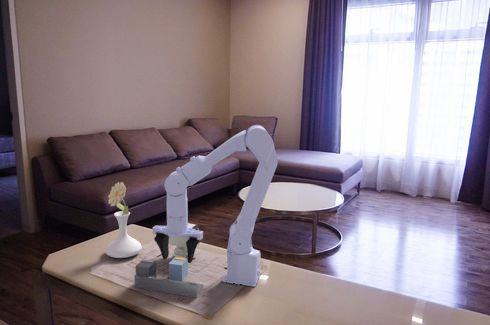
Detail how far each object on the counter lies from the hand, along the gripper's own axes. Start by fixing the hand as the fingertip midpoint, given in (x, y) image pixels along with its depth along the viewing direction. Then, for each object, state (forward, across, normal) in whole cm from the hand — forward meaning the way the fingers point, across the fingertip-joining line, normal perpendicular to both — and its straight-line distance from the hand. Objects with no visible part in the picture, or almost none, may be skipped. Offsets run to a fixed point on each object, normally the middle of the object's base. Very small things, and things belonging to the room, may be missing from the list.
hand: (177, 259), depth 102 cm
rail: (+5, 0, -6) cm, 8 cm away
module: (+5, 0, 0) cm, 5 cm away
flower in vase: (+6, -23, +8) cm, 25 cm away
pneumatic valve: (+6, -4, +12) cm, 14 cm away
